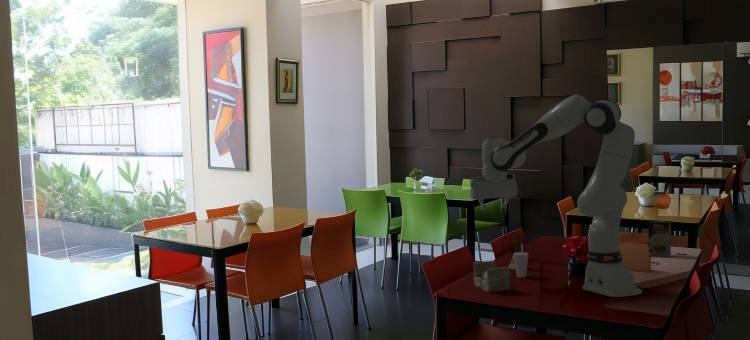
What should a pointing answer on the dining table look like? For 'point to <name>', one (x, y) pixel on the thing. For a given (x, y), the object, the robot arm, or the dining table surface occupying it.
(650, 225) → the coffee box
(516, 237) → the hand bell
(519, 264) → the smoothie
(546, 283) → the dining table surface
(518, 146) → the robot arm
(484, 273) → the roll
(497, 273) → the holder
